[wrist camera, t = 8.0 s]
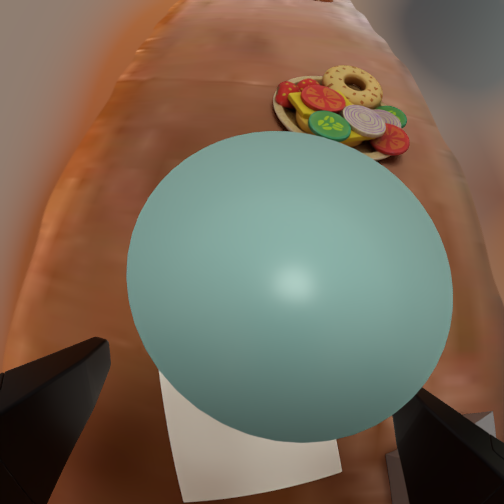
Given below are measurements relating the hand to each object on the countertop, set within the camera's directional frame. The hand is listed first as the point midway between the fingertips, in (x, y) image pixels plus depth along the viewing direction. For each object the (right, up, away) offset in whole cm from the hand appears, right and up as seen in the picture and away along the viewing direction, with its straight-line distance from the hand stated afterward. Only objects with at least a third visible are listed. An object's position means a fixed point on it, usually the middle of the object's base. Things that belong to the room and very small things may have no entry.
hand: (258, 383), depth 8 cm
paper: (0, -5, +7) cm, 9 cm away
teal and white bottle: (-1, -3, +8) cm, 8 cm away
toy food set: (+8, +16, +19) cm, 27 cm away
